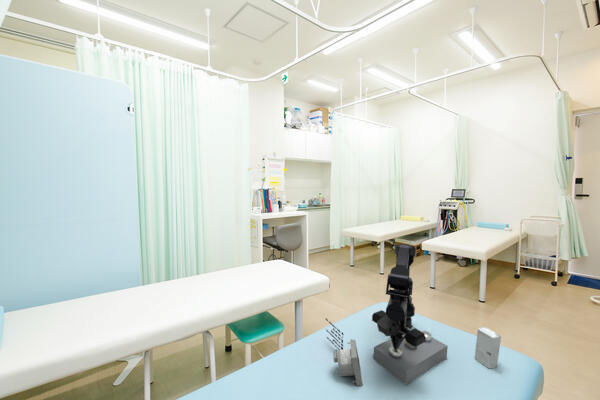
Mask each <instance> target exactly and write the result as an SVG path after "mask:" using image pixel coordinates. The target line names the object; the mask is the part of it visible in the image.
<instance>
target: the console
mask: <svg viewBox="0 0 600 400" xmlns="http://www.w3.org/2000/svg"><path fill="white" fill-rule="evenodd" d="M414 328H415V329H417V330H419V331H421V330H420V329H418V328H416V327H413V328H410V330H412V329H414ZM391 345H393V344H392V341H391V338H390V339H388V340H386V341H383V342H381V343H379V344H377V345H375V346H374V347H373V361H374V362H376V363H377V364H378V365H380V366H381V367H382V368H384V369H385V370H386V371H387V372H389V373H390V374H391V375H392V376H394V377H395V378H396V379H398V380H399V381H400V382H401V383H402V384H404V385H407V384H409V383H411V382H412V381H414V380H416V379H417V378H418V377H420V376H422V375H423V374H424V373H426V372H428V371H429V370H431V369H432V368H434V367H436V366H437V365H438V364H440V363H442V362H443V361H445V360H446V359H447V358H448V345H447V344H445V343H444V342H442V341H439V340H438V339H436V338H434V337H432V336H431V342H424V343H422V344H420V345H418V346H416V348H415V349H414V350H411V349H409V348H408V347H406V341H405V338H404V340H403V341H402V343H401V345H400V346H399V347H400V348H401V349H402V357H401V358H399V359H396V358H393V357H392V356H390V354H389V347H390V346H391Z"/></svg>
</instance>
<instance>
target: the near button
mask: <svg viewBox="0 0 600 400" xmlns="http://www.w3.org/2000/svg"><path fill="white" fill-rule="evenodd" d="M389 354H390V356H392V357H393V358H396V359H399V358H401V357H402V349H401V348H400V347H399V348H398V349H397V350H395V349H394V347H393V345H391V346H390V347H389Z"/></svg>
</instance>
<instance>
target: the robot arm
mask: <svg viewBox="0 0 600 400" xmlns="http://www.w3.org/2000/svg"><path fill="white" fill-rule="evenodd" d="M394 255H396V256H395V257H396V260H395V261H396V262H395V266H394V267H392V268H391V270H390V273H389V274H387V280H386V281H387V282H386V288H385V295H388V296H389V300H388V302H387V305H386V307H385V311H384V310H382V309H381V310H378V311H376V312H373V313H372V315H371V321H372V322H373V323H375V324H376V326H377V330H378V332H380V333H382V334H383V335H385V336H386V337H390V339H391V341H392V344H393V347H394V349H395V350H397V349H398V348H399V346H400V345H401V343H402V341H403V340H404V338H405V340H406V342H408V343H409V344H411V345H412V346H415V347H416V346H418V345H420V344H422V343H424V342H425V341H426V336H425V334H424V333H422V332H421V331H422V330H420V329H418V328H416V327H413V325H412V320H413V319H412V318H413V317H414V316H415V314H416V313H415V311H416V307H415V306H414V303H413V298H412V296H413V286H414V285H413V284H414V281H413V280H412V277H410V273H411V272H410V270H411V266H412V264H413V263H414V261H415V258H416V257H417V247H415V246H414V245H410V244H406V243H398V244H395V245H394ZM390 288H391V289H390ZM412 327H413V328H414V329H413V328H412ZM415 328H416V329H415ZM411 329H412V330H411ZM417 329H418V330H417ZM419 330H420V331H419Z"/></svg>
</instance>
